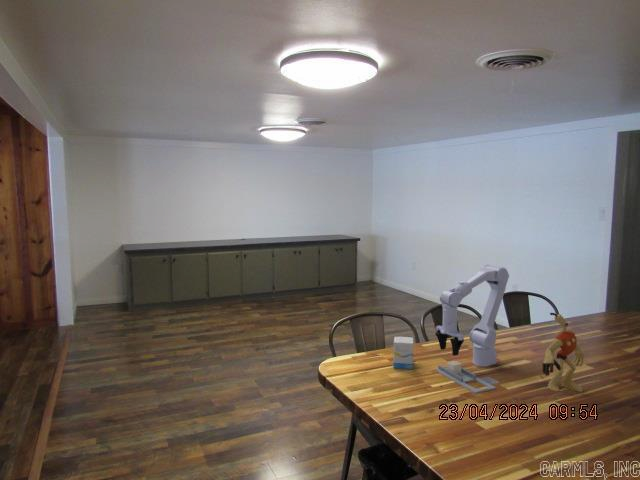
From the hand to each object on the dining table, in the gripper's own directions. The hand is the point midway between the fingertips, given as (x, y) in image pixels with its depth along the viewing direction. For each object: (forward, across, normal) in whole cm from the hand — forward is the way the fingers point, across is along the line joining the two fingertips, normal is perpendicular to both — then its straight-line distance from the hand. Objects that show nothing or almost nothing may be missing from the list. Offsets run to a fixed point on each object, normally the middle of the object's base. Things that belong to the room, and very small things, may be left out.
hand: (449, 352), depth 183 cm
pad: (+9, +15, +8) cm, 19 cm away
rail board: (+9, +10, 0) cm, 13 cm away
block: (+7, +4, 0) cm, 8 cm away
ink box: (+10, -16, -12) cm, 22 cm away
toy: (+10, +31, +26) cm, 42 cm away
